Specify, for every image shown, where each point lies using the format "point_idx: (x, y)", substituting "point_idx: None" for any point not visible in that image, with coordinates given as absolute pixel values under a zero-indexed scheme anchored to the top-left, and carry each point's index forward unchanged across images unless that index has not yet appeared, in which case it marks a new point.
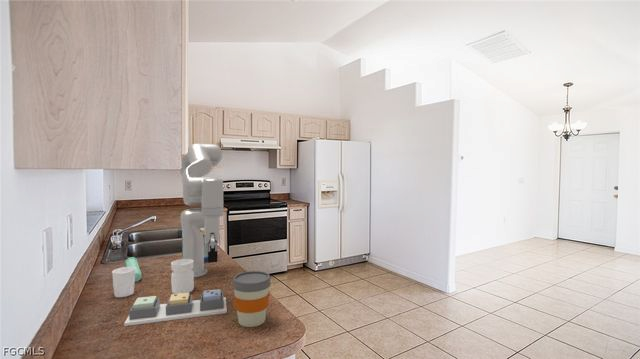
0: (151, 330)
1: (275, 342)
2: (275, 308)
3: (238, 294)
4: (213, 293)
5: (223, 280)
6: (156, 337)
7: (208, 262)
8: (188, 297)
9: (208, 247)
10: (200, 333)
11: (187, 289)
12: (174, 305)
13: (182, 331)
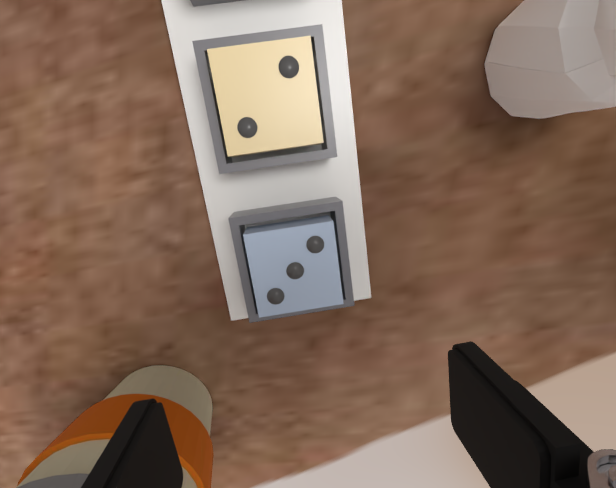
0: (88, 25)
1: (8, 483)
2: (253, 474)
3: (18, 485)
4: (286, 279)
5: (602, 251)
6: (26, 69)
7: (138, 403)
8: (260, 151)
9: (522, 416)
10: (63, 245)
11: (502, 93)
12: (204, 88)
13: (79, 170)
